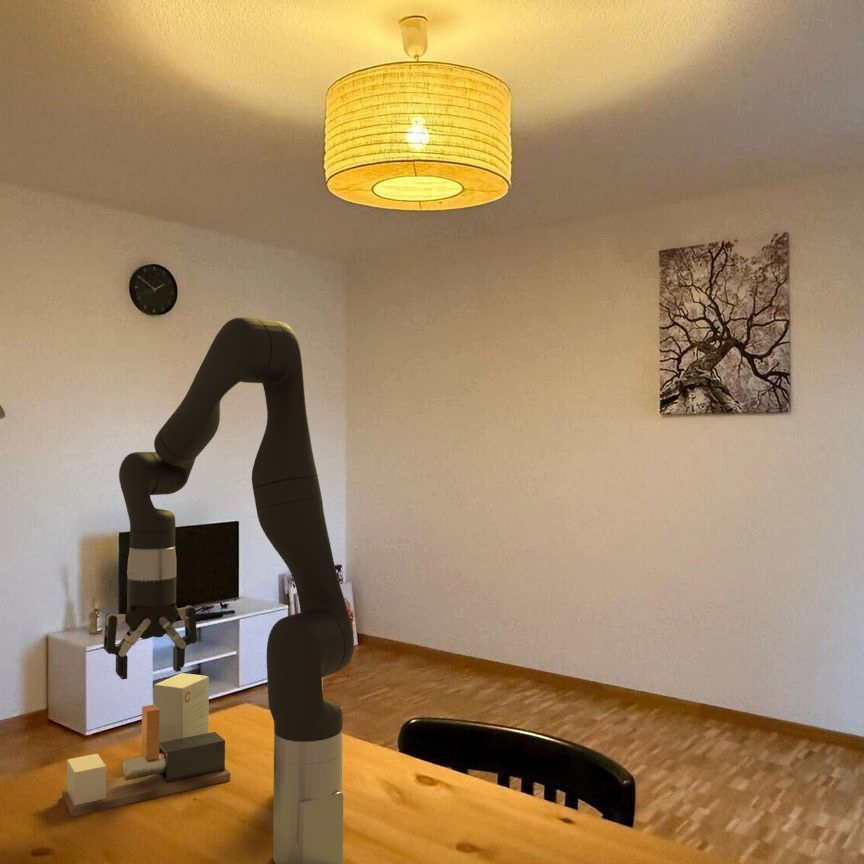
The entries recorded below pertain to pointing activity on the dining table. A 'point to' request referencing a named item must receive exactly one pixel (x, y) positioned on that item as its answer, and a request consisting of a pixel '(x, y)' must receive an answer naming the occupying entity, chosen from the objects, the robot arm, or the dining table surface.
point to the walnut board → (141, 790)
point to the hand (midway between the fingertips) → (150, 674)
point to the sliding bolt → (147, 748)
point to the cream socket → (86, 779)
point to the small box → (182, 706)
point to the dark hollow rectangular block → (193, 756)
